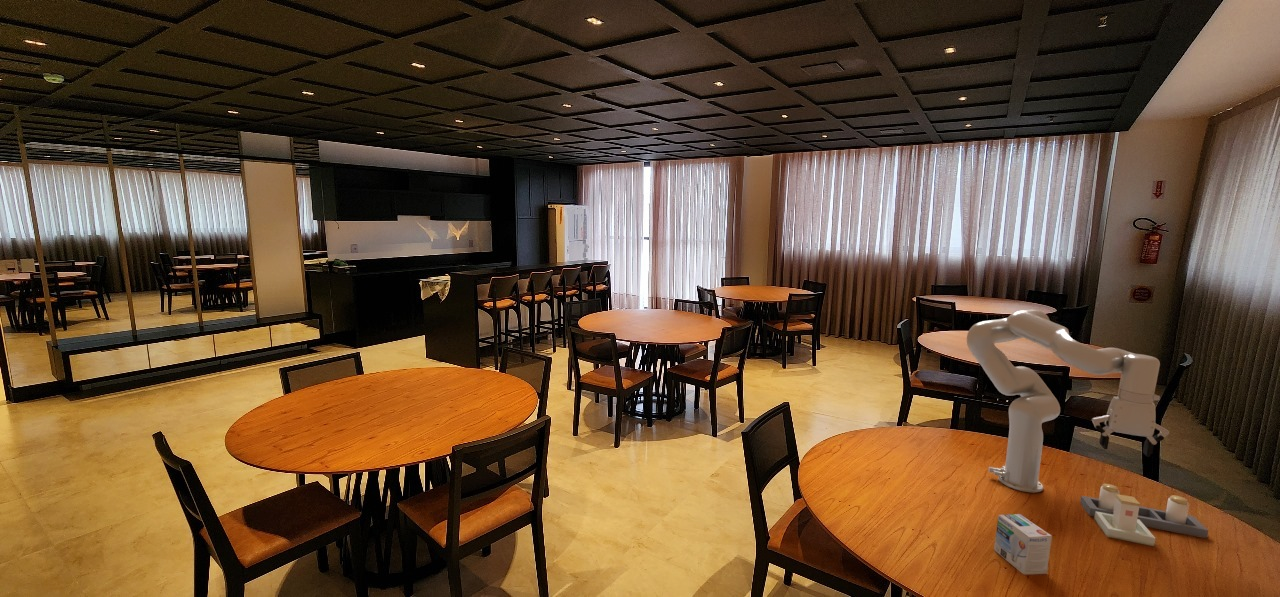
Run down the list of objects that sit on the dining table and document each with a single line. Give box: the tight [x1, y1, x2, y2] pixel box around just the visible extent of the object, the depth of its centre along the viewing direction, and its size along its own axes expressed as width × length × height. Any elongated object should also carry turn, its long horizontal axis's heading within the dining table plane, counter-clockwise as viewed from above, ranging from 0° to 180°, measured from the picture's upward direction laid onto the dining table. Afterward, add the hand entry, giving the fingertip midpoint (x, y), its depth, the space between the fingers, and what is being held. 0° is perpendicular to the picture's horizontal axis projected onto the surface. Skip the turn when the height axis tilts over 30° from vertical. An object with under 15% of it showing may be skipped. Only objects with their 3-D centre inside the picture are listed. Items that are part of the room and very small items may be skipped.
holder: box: [1079, 495, 1209, 539], centre depth 160 cm, size 27×8×2 cm, turn 65°
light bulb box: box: [993, 513, 1053, 576], centre depth 138 cm, size 11×7×11 cm, turn 5°
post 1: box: [1098, 483, 1120, 511], centre depth 163 cm, size 4×4×9 cm
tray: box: [1093, 511, 1156, 547], centre depth 153 cm, size 10×10×2 cm
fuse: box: [1111, 493, 1141, 532], centre depth 153 cm, size 4×4×10 cm
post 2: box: [1165, 494, 1190, 524], centre depth 156 cm, size 4×4×9 cm
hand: (1124, 451), depth 155 cm, fingers open, 9 cm apart
